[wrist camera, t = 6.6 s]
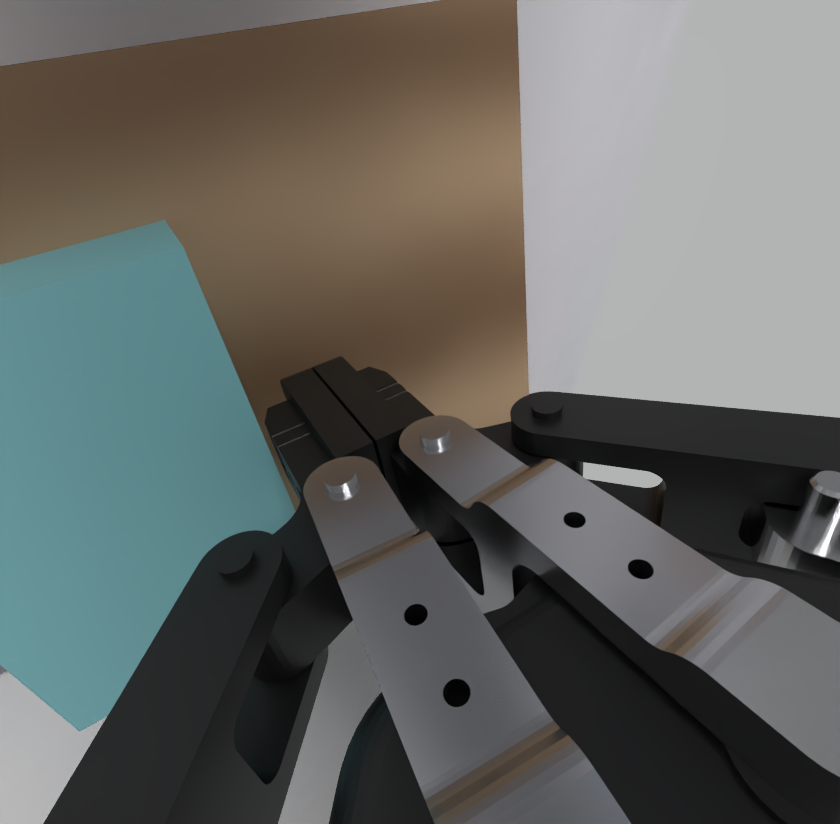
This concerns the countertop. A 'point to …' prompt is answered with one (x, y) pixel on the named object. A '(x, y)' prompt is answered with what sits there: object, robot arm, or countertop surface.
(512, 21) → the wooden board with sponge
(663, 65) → the countertop surface
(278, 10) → the countertop surface
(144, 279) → the teal foam pad
